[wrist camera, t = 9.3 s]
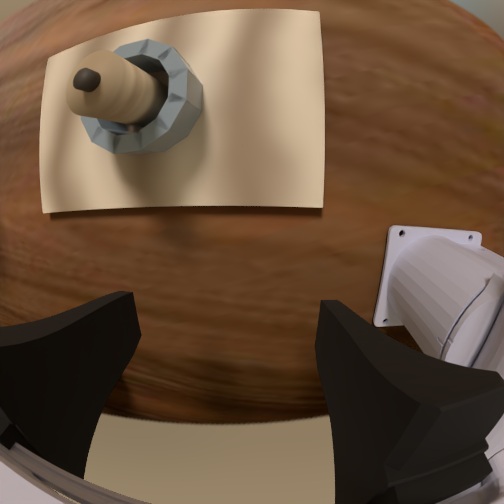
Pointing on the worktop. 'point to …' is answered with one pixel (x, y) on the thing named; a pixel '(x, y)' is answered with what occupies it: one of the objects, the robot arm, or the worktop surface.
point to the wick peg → (114, 90)
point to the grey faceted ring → (172, 113)
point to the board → (203, 119)
